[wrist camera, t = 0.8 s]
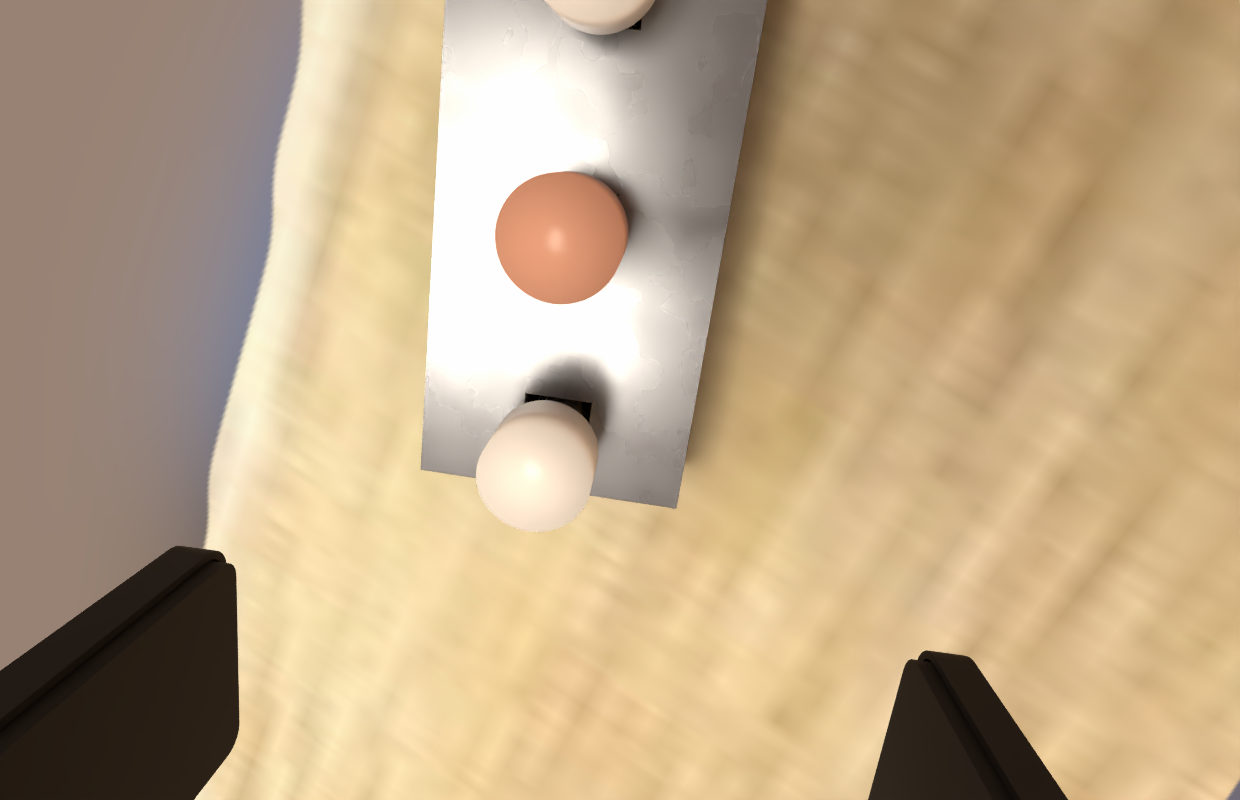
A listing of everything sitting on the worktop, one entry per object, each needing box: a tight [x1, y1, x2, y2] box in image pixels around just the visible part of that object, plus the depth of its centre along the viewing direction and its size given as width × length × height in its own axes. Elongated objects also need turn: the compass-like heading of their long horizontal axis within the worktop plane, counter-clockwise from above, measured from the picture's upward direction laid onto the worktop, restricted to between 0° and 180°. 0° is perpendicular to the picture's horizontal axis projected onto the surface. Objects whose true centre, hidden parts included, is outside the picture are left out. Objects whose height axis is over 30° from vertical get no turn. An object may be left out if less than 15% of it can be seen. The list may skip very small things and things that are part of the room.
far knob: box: [476, 396, 599, 532], centre depth 31 cm, size 4×4×8 cm
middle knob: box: [495, 171, 629, 305], centre depth 28 cm, size 4×4×8 cm
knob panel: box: [421, 0, 767, 509], centre depth 32 cm, size 24×12×5 cm, turn 172°
